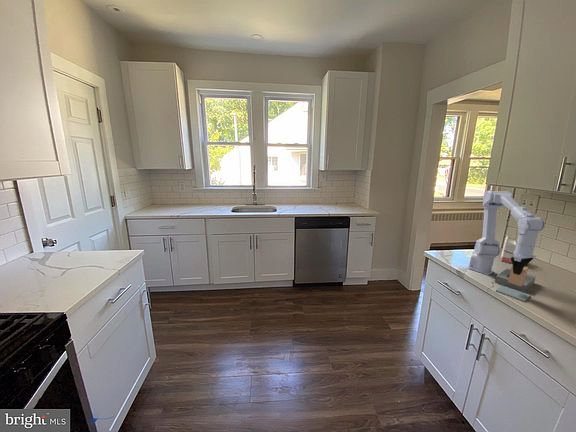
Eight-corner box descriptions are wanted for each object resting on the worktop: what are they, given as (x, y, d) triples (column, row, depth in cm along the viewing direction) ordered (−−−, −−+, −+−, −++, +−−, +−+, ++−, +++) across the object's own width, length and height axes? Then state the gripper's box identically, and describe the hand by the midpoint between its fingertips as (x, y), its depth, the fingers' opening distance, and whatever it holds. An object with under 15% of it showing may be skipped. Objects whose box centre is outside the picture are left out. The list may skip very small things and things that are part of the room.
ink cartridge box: (512, 263, 143) (518, 240, 140) (501, 261, 146) (506, 238, 143) (511, 259, 150) (516, 236, 146) (500, 257, 153) (506, 234, 149)
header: (494, 282, 121) (496, 275, 120) (505, 274, 130) (507, 268, 129) (524, 292, 112) (525, 285, 112) (534, 283, 121) (535, 276, 120)
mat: (495, 291, 113) (496, 290, 113) (502, 286, 117) (502, 285, 117) (524, 301, 105) (524, 300, 105) (530, 296, 109) (530, 295, 109)
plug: (507, 282, 111) (511, 266, 109) (511, 279, 113) (515, 263, 111) (520, 286, 107) (525, 269, 105) (524, 283, 110) (528, 267, 108)
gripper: (533, 250, 99) (525, 280, 102) (543, 243, 106) (535, 272, 110) (511, 245, 104) (504, 273, 108) (521, 239, 112) (514, 266, 115)
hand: (518, 272), depth 109 cm, fingers closed on plug, 4 cm apart
